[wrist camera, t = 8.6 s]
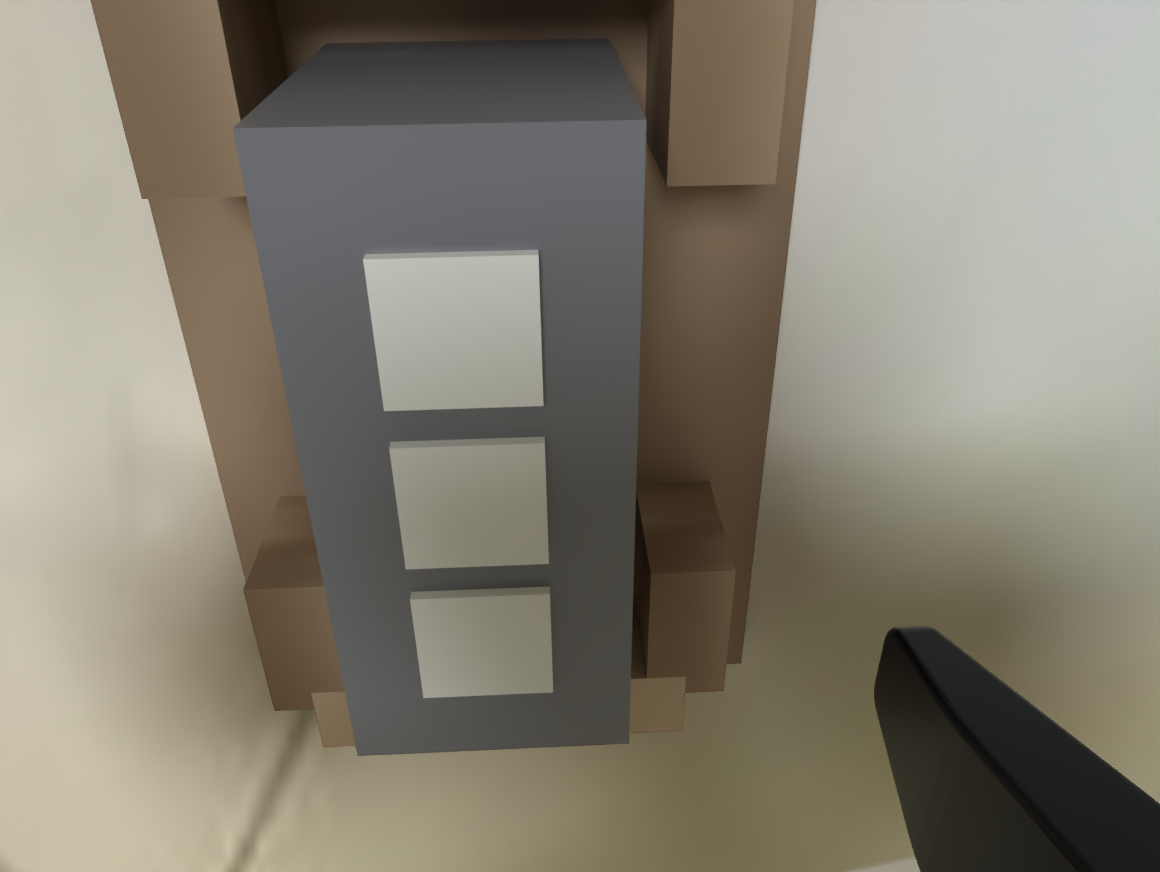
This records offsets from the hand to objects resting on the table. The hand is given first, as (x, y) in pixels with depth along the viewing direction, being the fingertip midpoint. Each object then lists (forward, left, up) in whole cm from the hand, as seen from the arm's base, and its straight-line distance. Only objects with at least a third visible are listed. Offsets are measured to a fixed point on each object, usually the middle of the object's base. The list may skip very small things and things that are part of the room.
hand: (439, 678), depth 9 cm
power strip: (0, 0, -8) cm, 8 cm away
